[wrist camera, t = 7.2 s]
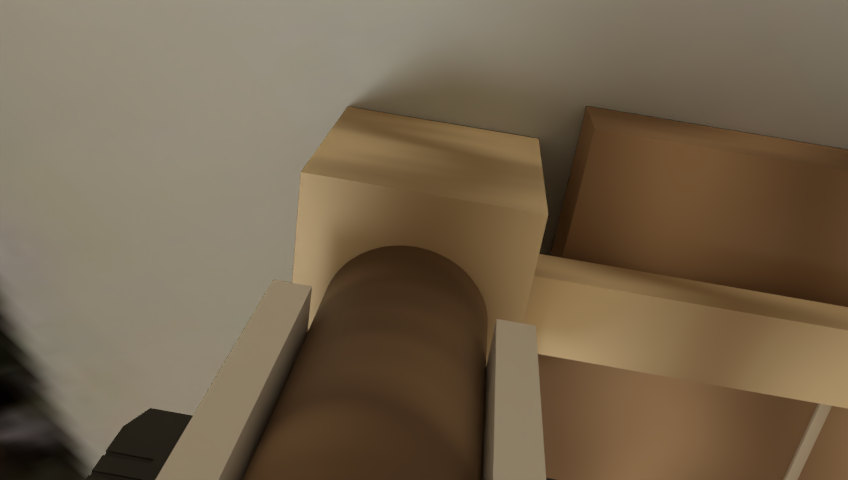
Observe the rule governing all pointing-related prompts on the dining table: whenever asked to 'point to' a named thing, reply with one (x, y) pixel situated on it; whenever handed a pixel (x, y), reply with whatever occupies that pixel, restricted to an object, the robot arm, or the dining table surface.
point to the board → (705, 262)
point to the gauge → (485, 306)
